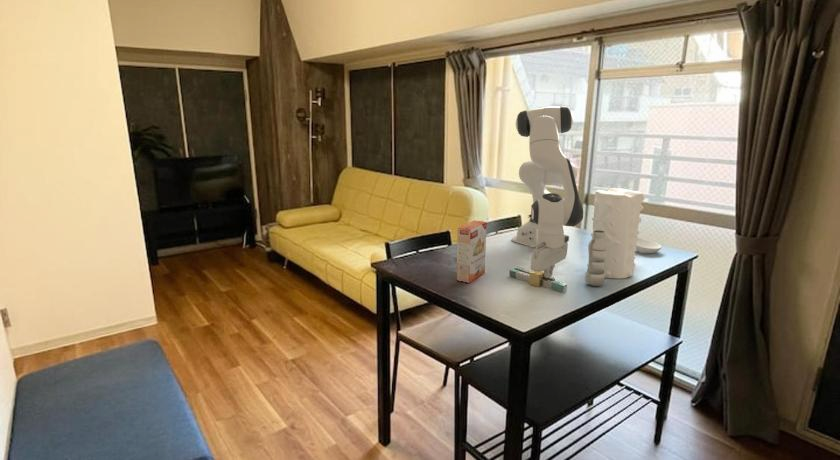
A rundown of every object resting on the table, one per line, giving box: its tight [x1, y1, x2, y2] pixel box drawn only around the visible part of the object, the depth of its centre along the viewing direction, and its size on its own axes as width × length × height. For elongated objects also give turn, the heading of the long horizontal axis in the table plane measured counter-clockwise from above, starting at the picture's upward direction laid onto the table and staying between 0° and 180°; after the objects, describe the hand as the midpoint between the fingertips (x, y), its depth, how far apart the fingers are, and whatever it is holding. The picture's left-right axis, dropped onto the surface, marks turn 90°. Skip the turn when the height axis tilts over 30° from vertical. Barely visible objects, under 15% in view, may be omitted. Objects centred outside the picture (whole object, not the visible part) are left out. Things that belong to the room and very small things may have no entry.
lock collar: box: [528, 270, 553, 288], centre depth 168 cm, size 4×8×5 cm, turn 133°
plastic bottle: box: [584, 230, 608, 287], centre depth 163 cm, size 6×7×20 cm
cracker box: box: [456, 220, 488, 284], centre depth 173 cm, size 14×6×21 cm, turn 148°
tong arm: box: [513, 266, 555, 280], centre depth 172 cm, size 16×2×3 cm, turn 43°
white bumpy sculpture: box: [586, 187, 645, 279], centre depth 174 cm, size 17×16×32 cm
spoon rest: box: [636, 235, 663, 255], centre depth 206 cm, size 24×12×7 cm, turn 44°
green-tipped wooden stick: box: [508, 268, 568, 294], centre depth 168 cm, size 23×4×3 cm, turn 43°
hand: (548, 276), depth 166 cm, fingers closed
